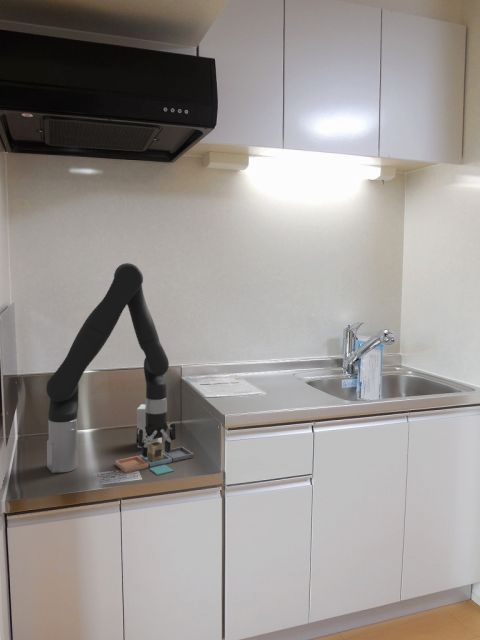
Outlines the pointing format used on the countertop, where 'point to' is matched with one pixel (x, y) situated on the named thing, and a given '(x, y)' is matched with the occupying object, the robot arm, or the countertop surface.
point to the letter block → (155, 451)
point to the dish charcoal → (179, 454)
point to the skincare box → (143, 422)
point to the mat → (161, 469)
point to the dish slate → (152, 464)
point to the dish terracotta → (131, 464)
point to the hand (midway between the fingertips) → (156, 454)
